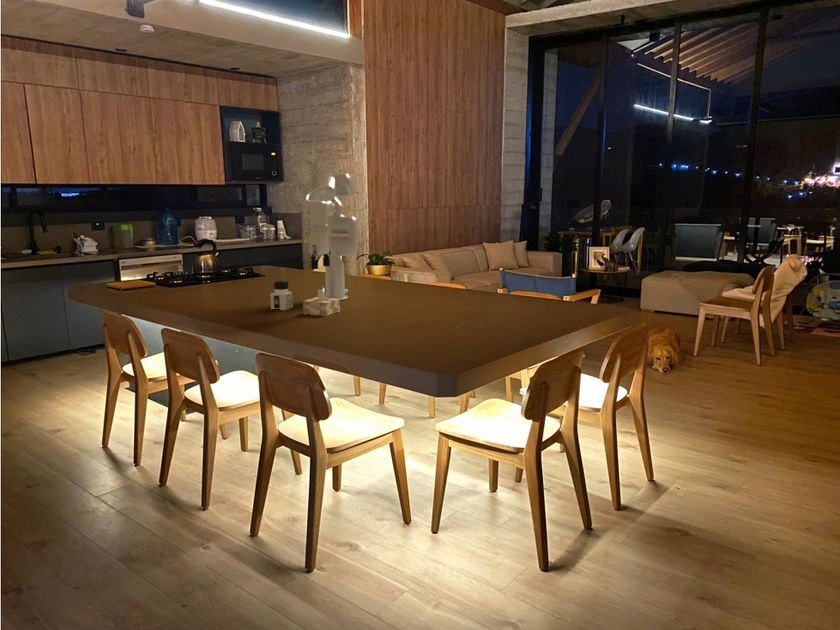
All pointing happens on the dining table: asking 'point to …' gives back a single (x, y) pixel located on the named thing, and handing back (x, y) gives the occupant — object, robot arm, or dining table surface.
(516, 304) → the dining table surface
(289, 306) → the container
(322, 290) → the peg
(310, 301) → the square wooden hole block
